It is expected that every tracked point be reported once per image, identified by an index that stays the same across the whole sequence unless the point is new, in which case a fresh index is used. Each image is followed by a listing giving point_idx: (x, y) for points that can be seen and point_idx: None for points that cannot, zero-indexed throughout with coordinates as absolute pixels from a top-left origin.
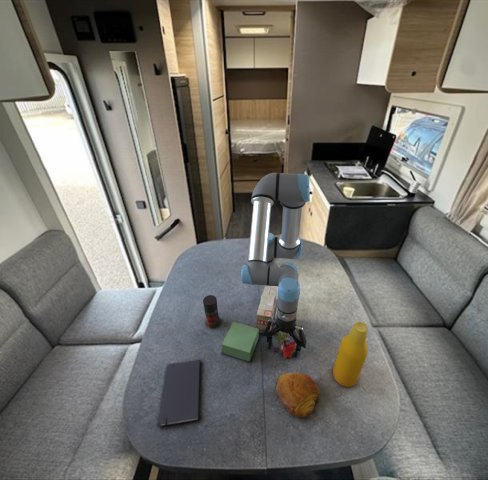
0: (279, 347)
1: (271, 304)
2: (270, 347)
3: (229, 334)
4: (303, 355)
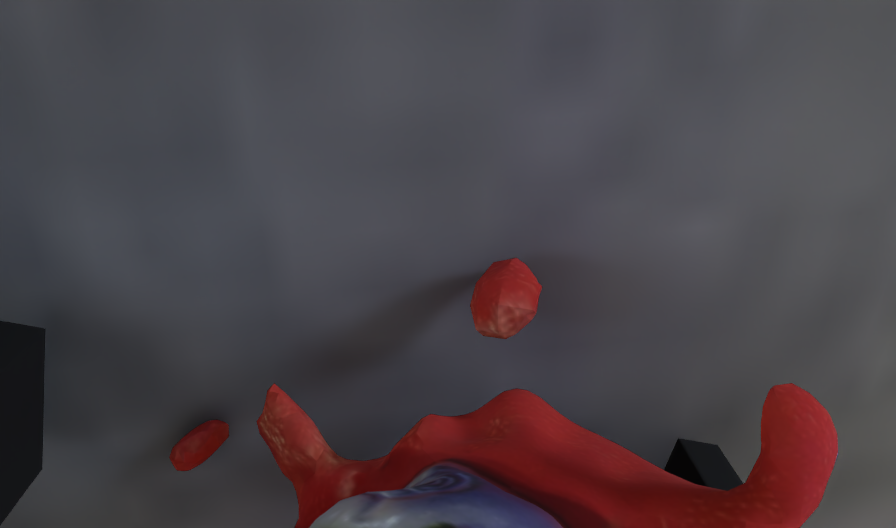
0: (268, 425)
1: None
2: (14, 485)
3: None
4: None
